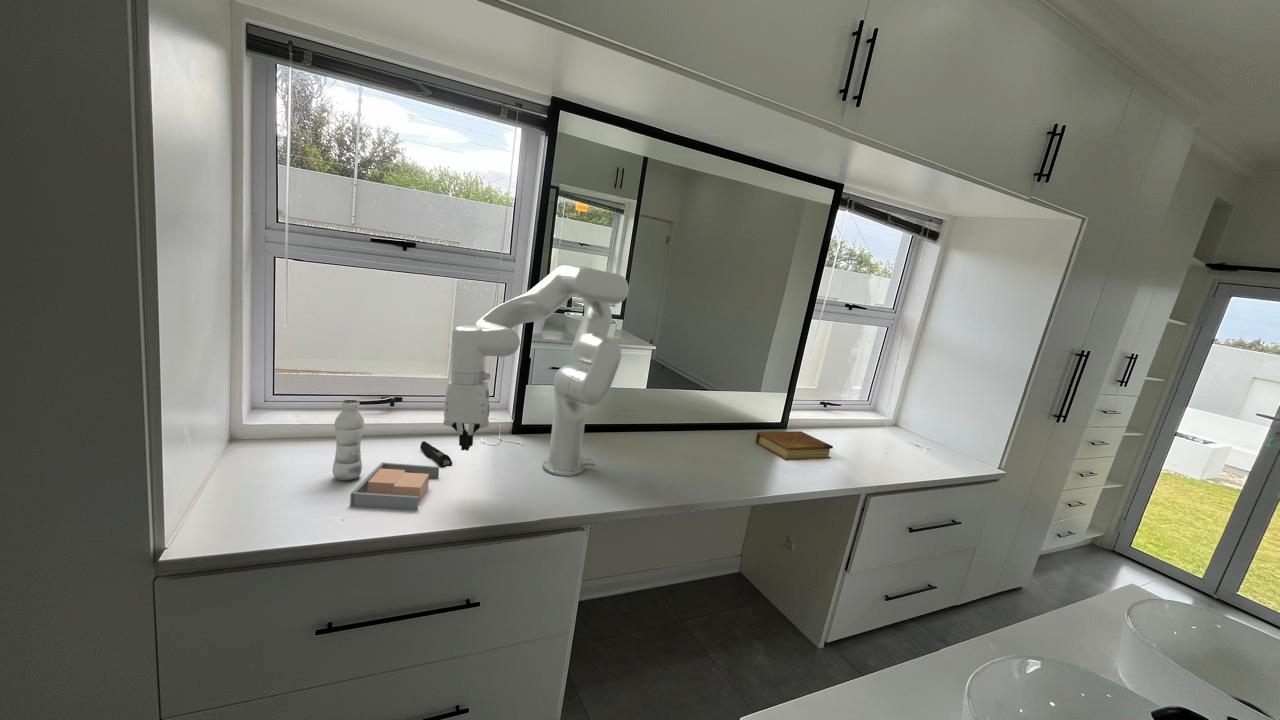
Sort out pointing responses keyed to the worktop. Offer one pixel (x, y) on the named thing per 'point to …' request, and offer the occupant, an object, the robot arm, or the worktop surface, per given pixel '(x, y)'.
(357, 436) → the plastic bottle
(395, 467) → the organizer bay
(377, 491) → the tile
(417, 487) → the tile
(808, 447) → the diary
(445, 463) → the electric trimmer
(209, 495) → the worktop surface
